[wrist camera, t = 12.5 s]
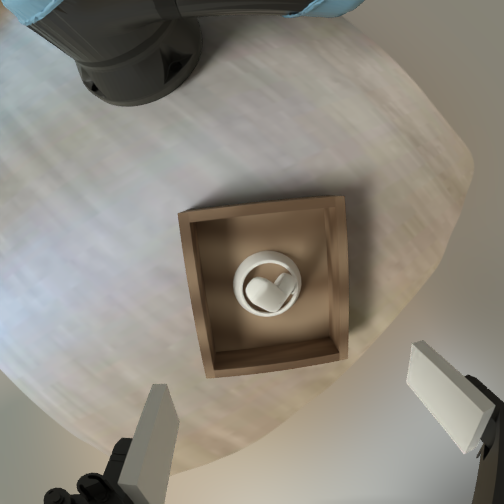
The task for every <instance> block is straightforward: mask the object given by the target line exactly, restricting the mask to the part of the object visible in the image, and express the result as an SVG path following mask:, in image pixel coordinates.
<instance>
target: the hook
mask: <svg viewBox="0 0 504 504" xmlns="http://www.w3.org/2000/svg"><path fill="white" fill-rule="evenodd" d="M264 263H275V264H279V265H281V266H283V267H285V268H286V269H287V270H288V271H289V272H290V273H291V275H290V274H287V273H282V274H281V275H280V276H279V277H278V278H277V279H276V281H275V282H274V284H273V283H272V282H271V281H269V280H267V279H265V278H262V277H255V278H253V279H252V280H251V281H250V282H249V283H248V285H247V287H246V294H247V297H248V298H249V299H250V301H251V302H252V303H253V304H255V305H257V306H259V307H261V308H263V309H265V310H267V311H269V312H262V311H258V310H256V309H254V308H252V307H251V306H250V305H249V304H248V303H247V302H246V300H245V298H244V295H243V283H244V280H245V278H246V276H247V274H248V273H249V272H250V271H251V270H252V269H253V268H255V267H256V266H258V265H261V264H264ZM294 286H295V287H294ZM233 289H234V294H235V296H236V299H237V300H238V302H239V304H240V305H241V306H242V307H243V308H244V309H246V310H247V311H248V312H250V313H252V314H254V315H258V316H263V317H270V316H276V315H279V314H281V313H283V312H285V311H287V310H288V309H289V308H290V307H291V306H292V305H293V304H294V303H295V301H296V300H297V298H298V296H299V293H300V290H301V275H300V272H299V269H298V267H297V266H296V264H295V263H294V262H293V261H292V260H291V259H290V258H289V257H288V256H286V255H284V254H282V253H279V252H276V251H261V252H258V253H255V254H253V255H251V256H249V257H247V258H246V259H245V260H244V261H243V262H242V263H241V264H240V265H239V267H238V269H237V271H236V272H235V276H234V280H233ZM290 294H293V297H292V298H291V300H290V301H289V303H288V304H287V305H285V306H284V307H283V308H281V306H282V305H283V303H284V302H285V301H286V299H287V298H288V296H289V295H290ZM280 308H281V309H280Z"/></svg>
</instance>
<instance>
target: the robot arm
mask: <svg viewBox="0 0 504 504" xmlns="http://www.w3.org/2000/svg"><path fill="white" fill-rule="evenodd" d="M1 1H2V3H3V5H4V6H5V7H6V8H7V9H9V10H10V11H11V12H12V13H13V14H14V15H15V16H16V17H18V20H19V22H20V23H21V24H23V25H25V26H27V27H29V28H30V29H31V30H33V31H34V32H36V33H37V34H39V35H40V36H42V37H43V38H45V39H46V40H47V41H49V42H50V43H52V44H53V45H55V46H56V47H57V48H59V49H60V50H62V51H63V52H64V53H66V54H67V55H69V56H70V57H71V58H73V59H74V60H75V62H76V65H77V68H78V71H79V73H80V76H81V79H82V81H83V83H84V85H85V86H86V87H87V89H88V90H89V91H90V92H91V93H92V94H94V95H95V96H97V97H98V98H100V99H101V100H103V101H105V102H107V103H109V104H112V105H116V106H127V107H128V106H138V105H143V104H147V103H150V102H153V101H155V100H157V99H160V98H162V97H163V96H165V95H167V94H169V93H170V92H172V91H173V90H174V89H176V88H177V87H178V86H179V85H180V84H182V83H183V82H184V81H185V79H186V78H187V77H188V76H189V75H190V74H191V72H192V71H193V69H194V68H195V66H196V64H197V62H198V60H199V57H200V54H201V50H202V34H201V30H200V25H199V22H198V20H197V18H196V17H204V16H219V15H281V16H283V17H285V18H295V17H299V16H312V17H326V18H332V17H338V16H341V15H343V14H345V13H347V12H350V11H352V10H354V9H355V8H357V7H358V6H359V5H360V4H361V3H362V2H363V1H364V0H1ZM406 383H407V384H408V385H409V387H410V388H411V389H412V390H413V392H414V393H415V394H416V395H417V396H418V398H419V399H420V400H421V401H422V402H423V404H424V405H425V406H426V407H427V409H428V410H429V411H430V412H431V414H432V415H433V416H434V417H435V418H436V420H437V421H438V422H439V423H440V425H441V426H442V427H443V428H444V430H445V431H446V432H447V433H448V435H449V436H450V437H451V438H452V440H453V441H454V442H455V443H456V445H457V446H458V447H459V449H460V450H461V451H462V452H463V454H466V453H468V452H469V451H471V450H473V449H474V448H476V447H477V445H478V443H479V441H480V439H481V440H482V442H483V445H482V447H481V449H480V451H479V453H478V454H477V457H476V458H478V457H479V456H480V454H481V456H480V464H479V470H478V476H477V482H476V487H475V492H474V497H473V501H472V504H504V402H503V401H501V400H500V399H499V398H498V397H497V396H496V395H495V394H494V393H493V392H491V391H490V390H489V389H487V387H486V386H485V385H483V383H481V382H480V381H479V380H478V379H477V378H475V377H472V376H470V375H466V376H463V375H462V374H461V373H460V372H459V371H457V370H456V369H455V368H454V367H453V366H452V365H450V363H448V362H447V361H446V360H445V359H444V358H443V357H442V356H441V355H439V354H438V353H437V352H436V351H435V350H434V349H433V348H431V347H430V346H429V345H428V344H427V343H426V342H424V341H423V340H422V341H419V342H416V343H412V348H411V355H410V362H409V369H408V375H407V381H406ZM179 423H180V421H179V418H178V416H177V413H176V410H175V407H174V404H173V401H172V398H171V395H170V392H169V389H168V386H167V384H153V385H152V388H151V390H150V393H149V396H148V398H147V401H146V404H145V406H144V409H143V412H142V414H141V417H140V420H139V423H138V425H137V428H136V431H135V434H134V437H133V438H121V439H120V440H119V441H118V442H117V443H116V444H115V446H114V449H113V451H112V455H111V456H110V459H109V461H108V464H107V467H106V469H105V472H104V474H103V475H100V474H98V473H89V474H86V475H84V476H82V477H81V478H80V479H79V480H78V482H77V490H78V492H79V493H80V494H74V495H70V494H69V493H68V492H67V491H66V490H64V489H62V488H53V489H50V490H49V491H48V492H47V493H46V494H45V496H44V504H164V502H165V496H166V491H167V485H168V480H169V474H170V469H171V463H172V458H173V453H174V448H175V443H176V438H177V433H178V428H179Z"/></svg>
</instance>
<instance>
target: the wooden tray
mask: <svg viewBox="0 0 504 504" xmlns="http://www.w3.org/2000/svg"><path fill="white" fill-rule="evenodd" d="M178 220H179V227H180V235H181V242H182V249H183V255H184V262H185V268H186V274H187V281H188V287H189V292H190V298H191V304H192V309H193V315H194V320H195V325H196V331H197V336H198V341H199V346H200V351H201V355H202V360H203V365H204V369H205V374H206V378H219V377H230V376H240V375H249V374H258V373H266V372H274V371H281V370H288V369H294V368H301V367H307V366H312V365H318V364H324V363H329V362H334V361H339V360H344V359H348V333H349V273H348V244H347V225H346V210H345V197H344V196H333V195H327V196H314V197H302V198H291V199H281V200H270V201H261V202H251V203H242V204H233V205H225V206H216V207H208V208H200V209H193V210H186V211H183V212H180V213H178ZM261 251H276V252H279V253H282V254H284V255H286V256H288V257H289V258H290V259H291V260H292V261H293V262H294V263H295V264H296V266H297V267H298V269H299V272H300V275H301V290H300V293H299V296H298V298H297V300H296V301H295V303H294V304H293V305H292V306H291V307H290V308H289V309H288V310H287V311H285V312H283V313H281V314H279V315H276V316H270V317H263V316H258V315H254V314H252V313H250V312H248V311H247V310H246V309H244V308H243V307H242V306H241V305H240V304H239V302H238V300H237V299H236V296H235V294H234V289H233V280H234V276H235V272H236V271H237V269H238V267H239V265H240V264H241V263H242V262H243V261H244V260H245V259H246V258H247V257H249V256H251V255H253V254H255V253H258V252H261ZM282 273H287V274H290V275H291V273H290V272H289V271H288V270H287V269H286V268H285V267H283V266H281V265H279V264H275V263H264V264H261V265H258V266H256V267H255V268H253V269H252V270H251V271H250V272H249V273H248V274H247V276H246V278H245V280H244V283H243V295H244V298H245V300H246V302H247V303H248V304H249V305H250V306H251V307H252V308H254V309H256V310H258V311H262V312H269V311H267V310H265V309H263V308H261V307H259V306H257V305H255V304H253V303H252V302H251V301H250V299H249V298H248V297H247V294H246V287H247V285H248V283H249V282H250V281H251V280H252V279H253V278H255V277H262V278H265V279H267V280H269V281H271V282H272V283H273V284H274V282H275V281H276V279H277V278H278V277H279V276H280V275H281V274H282ZM294 287H295V286H294ZM292 297H293V294H290V295H289V296H288V298H287V299H286V301H285V302H284V303H283V305H282V306H281V308H283V307H284V306H285V305H287V304H288V303H289V301H290V300H291V298H292ZM281 308H280V309H281Z"/></svg>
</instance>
